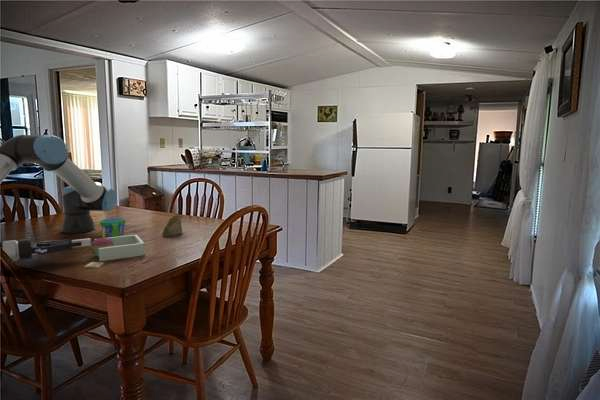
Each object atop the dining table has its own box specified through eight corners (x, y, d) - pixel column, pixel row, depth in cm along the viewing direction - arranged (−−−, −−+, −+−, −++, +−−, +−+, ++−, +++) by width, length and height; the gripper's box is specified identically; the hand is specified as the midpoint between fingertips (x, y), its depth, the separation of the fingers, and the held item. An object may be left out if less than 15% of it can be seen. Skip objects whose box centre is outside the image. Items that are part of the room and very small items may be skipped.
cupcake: (97, 252, 166) (95, 224, 164) (118, 252, 166) (116, 224, 164) (87, 258, 157) (85, 229, 155) (109, 258, 158) (107, 229, 156)
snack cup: (101, 238, 188) (100, 217, 186) (125, 236, 192) (124, 216, 191) (101, 246, 174) (99, 224, 172) (127, 244, 178) (126, 222, 177)
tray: (99, 261, 154) (98, 248, 153) (95, 250, 168) (94, 239, 167) (145, 255, 163) (144, 243, 162) (137, 245, 177) (136, 234, 176)
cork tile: (84, 269, 146) (84, 266, 146) (91, 265, 151) (91, 262, 151) (98, 269, 146) (97, 266, 146) (104, 265, 151) (104, 262, 151)
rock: (161, 233, 189) (182, 229, 192) (158, 218, 193) (179, 214, 196) (163, 242, 198) (184, 238, 202) (161, 227, 202) (181, 223, 205)
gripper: (20, 255, 152) (90, 247, 164) (18, 264, 141) (92, 255, 153) (18, 236, 150) (88, 229, 163) (16, 244, 139) (91, 236, 152)
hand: (90, 241), depth 158 cm, fingers closed
